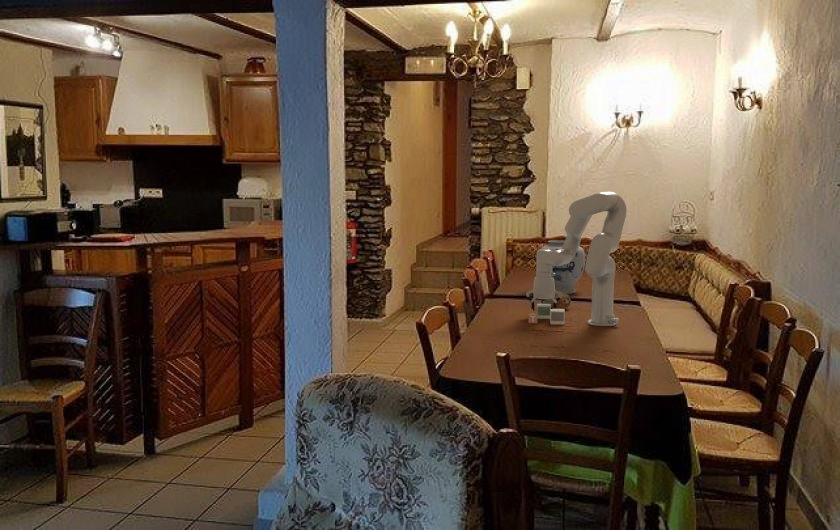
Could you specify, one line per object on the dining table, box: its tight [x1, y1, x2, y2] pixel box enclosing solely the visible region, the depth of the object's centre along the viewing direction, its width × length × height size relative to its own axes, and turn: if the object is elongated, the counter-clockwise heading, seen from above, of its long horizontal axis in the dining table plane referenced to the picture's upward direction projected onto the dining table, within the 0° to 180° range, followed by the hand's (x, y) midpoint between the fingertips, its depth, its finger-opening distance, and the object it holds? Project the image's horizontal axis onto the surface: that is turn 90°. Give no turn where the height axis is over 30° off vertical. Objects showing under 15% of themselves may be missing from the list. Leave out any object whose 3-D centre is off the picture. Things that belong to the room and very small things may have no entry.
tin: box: [540, 293, 572, 310], centre depth 377 cm, size 15×3×8 cm, turn 62°
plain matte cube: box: [536, 303, 551, 320], centre depth 353 cm, size 6×6×6 cm
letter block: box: [528, 312, 538, 324], centre depth 342 cm, size 4×4×4 cm
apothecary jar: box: [540, 239, 586, 295], centre depth 429 cm, size 27×27×30 cm
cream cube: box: [549, 309, 566, 325], centre depth 340 cm, size 6×6×6 cm
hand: (543, 310), depth 353 cm, fingers open, 9 cm apart
